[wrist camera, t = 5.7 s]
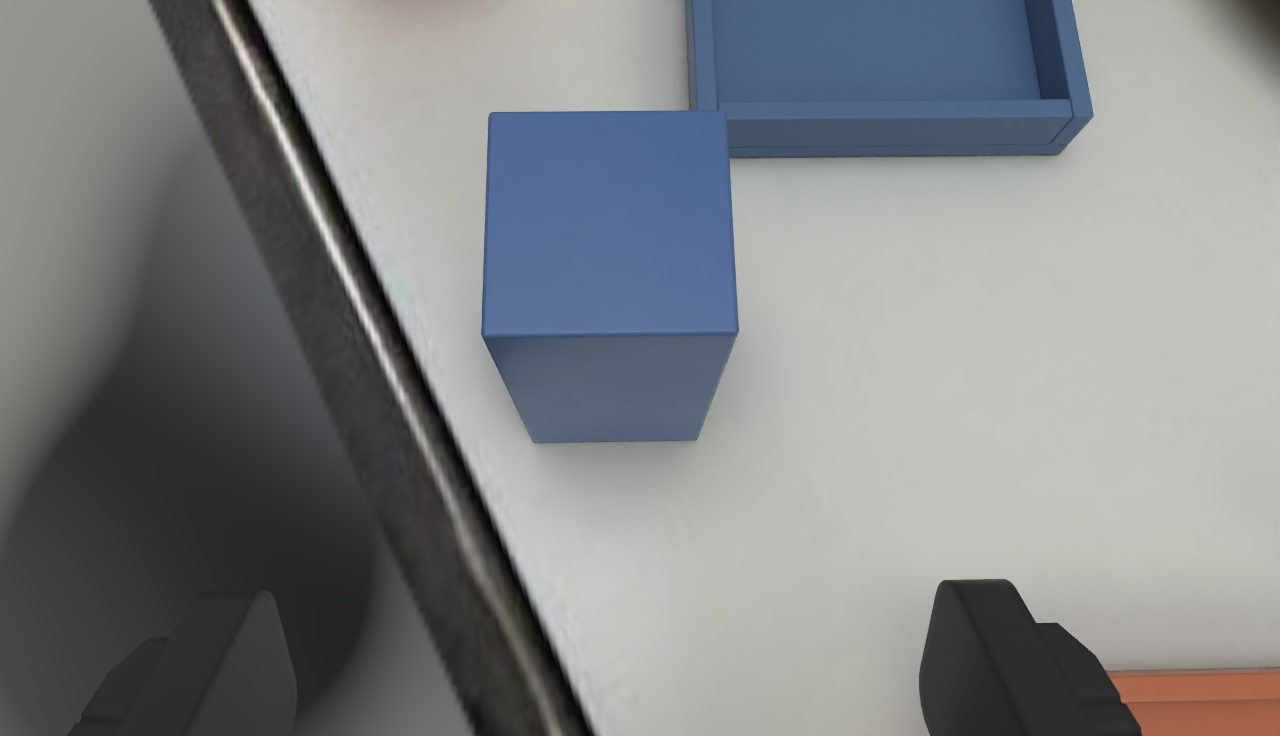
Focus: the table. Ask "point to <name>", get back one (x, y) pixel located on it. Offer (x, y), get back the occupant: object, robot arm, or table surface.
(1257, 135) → the table surface
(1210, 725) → the terracotta tray
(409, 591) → the table surface
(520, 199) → the blue block
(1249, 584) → the table surface
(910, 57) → the blue tray
